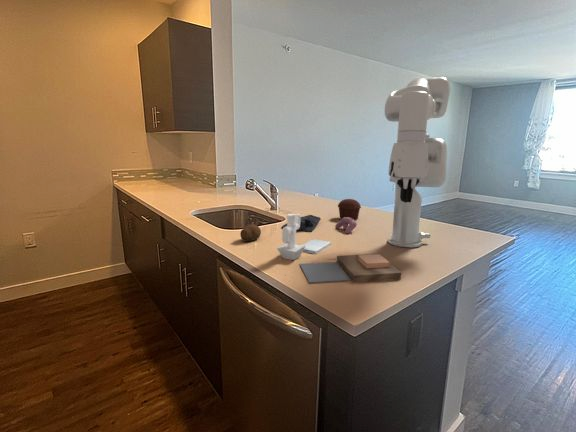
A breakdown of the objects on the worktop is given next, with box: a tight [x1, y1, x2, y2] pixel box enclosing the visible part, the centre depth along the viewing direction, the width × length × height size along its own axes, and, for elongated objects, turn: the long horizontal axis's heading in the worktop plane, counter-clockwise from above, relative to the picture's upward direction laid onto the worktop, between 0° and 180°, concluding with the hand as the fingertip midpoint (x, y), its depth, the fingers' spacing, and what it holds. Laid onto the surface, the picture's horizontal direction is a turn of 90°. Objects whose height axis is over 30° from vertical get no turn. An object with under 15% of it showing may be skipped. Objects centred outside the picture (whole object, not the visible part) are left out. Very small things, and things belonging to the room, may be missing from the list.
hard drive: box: [302, 238, 332, 255], centre depth 119 cm, size 2×8×12 cm
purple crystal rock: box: [334, 217, 357, 234], centre depth 142 cm, size 10×5×7 cm, turn 22°
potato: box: [240, 223, 262, 242], centre depth 128 cm, size 7×10×6 cm
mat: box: [299, 261, 352, 284], centre depth 96 cm, size 12×14×1 cm
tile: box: [357, 253, 390, 268], centre depth 98 cm, size 7×7×2 cm
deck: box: [336, 253, 402, 283], centre depth 98 cm, size 14×16×2 cm
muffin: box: [337, 198, 362, 221], centre depth 163 cm, size 12×11×10 cm
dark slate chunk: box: [281, 214, 321, 233], centre depth 151 cm, size 15×22×5 cm
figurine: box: [276, 213, 305, 261], centre depth 108 cm, size 7×9×15 cm
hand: (405, 201), depth 95 cm, fingers closed
